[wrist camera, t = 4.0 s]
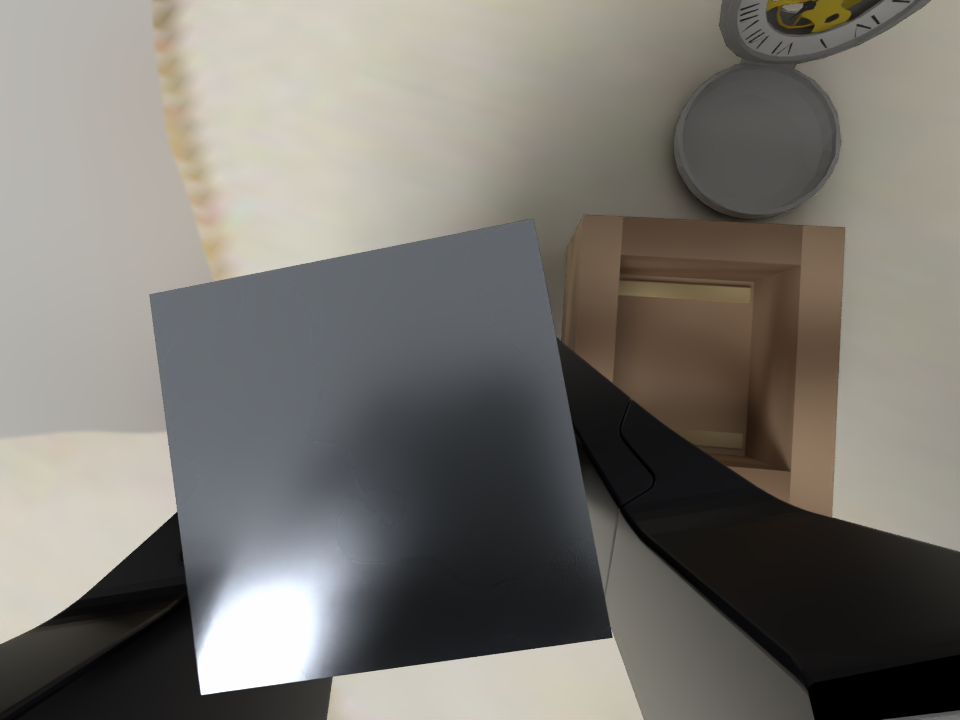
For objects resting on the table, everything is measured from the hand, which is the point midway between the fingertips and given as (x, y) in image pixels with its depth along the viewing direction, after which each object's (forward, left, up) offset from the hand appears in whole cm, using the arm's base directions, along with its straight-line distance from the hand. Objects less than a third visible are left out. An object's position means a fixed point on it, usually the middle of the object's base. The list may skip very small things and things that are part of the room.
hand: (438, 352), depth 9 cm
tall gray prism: (-1, -1, -7) cm, 7 cm away
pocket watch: (+16, -4, -9) cm, 19 cm away
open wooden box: (+5, -7, -8) cm, 12 cm away
